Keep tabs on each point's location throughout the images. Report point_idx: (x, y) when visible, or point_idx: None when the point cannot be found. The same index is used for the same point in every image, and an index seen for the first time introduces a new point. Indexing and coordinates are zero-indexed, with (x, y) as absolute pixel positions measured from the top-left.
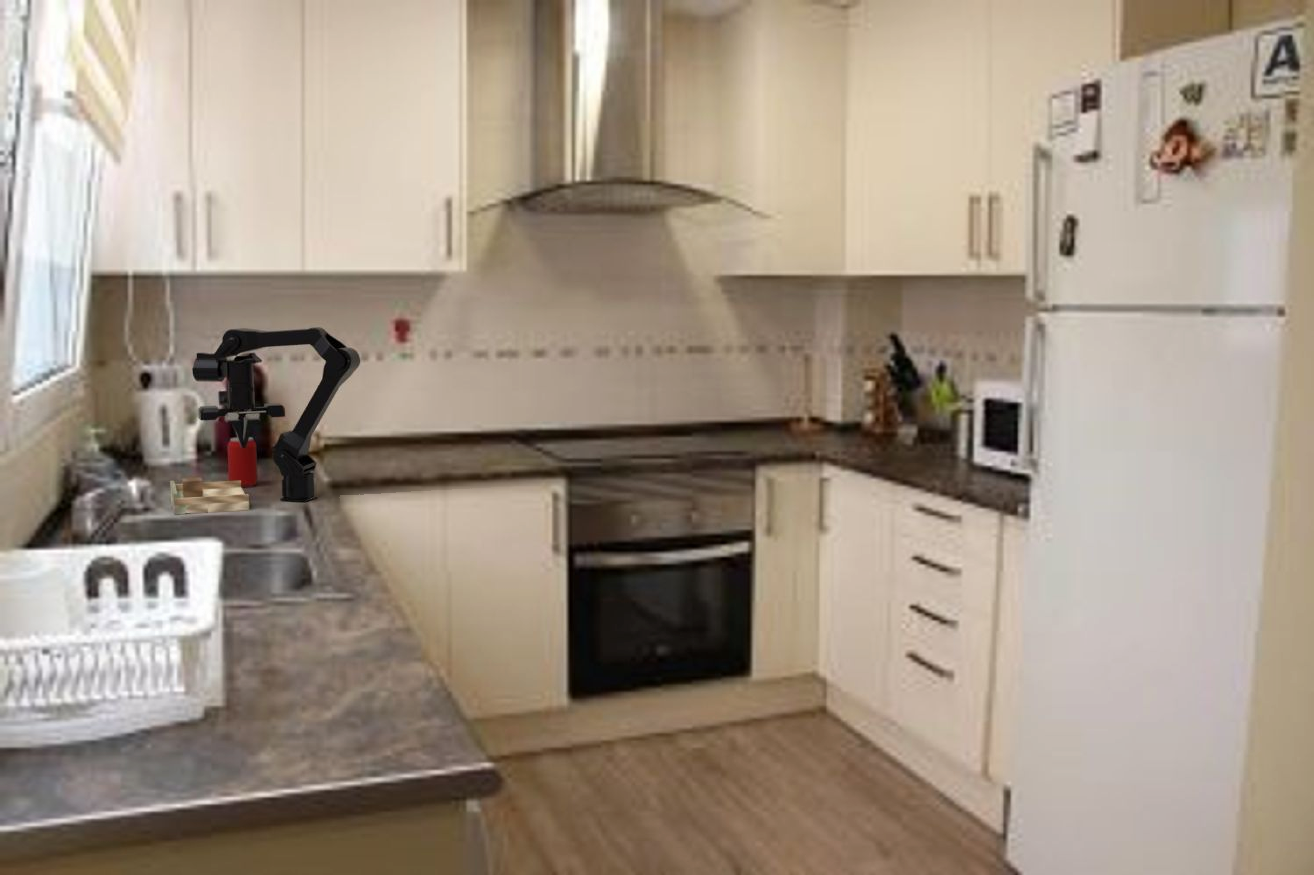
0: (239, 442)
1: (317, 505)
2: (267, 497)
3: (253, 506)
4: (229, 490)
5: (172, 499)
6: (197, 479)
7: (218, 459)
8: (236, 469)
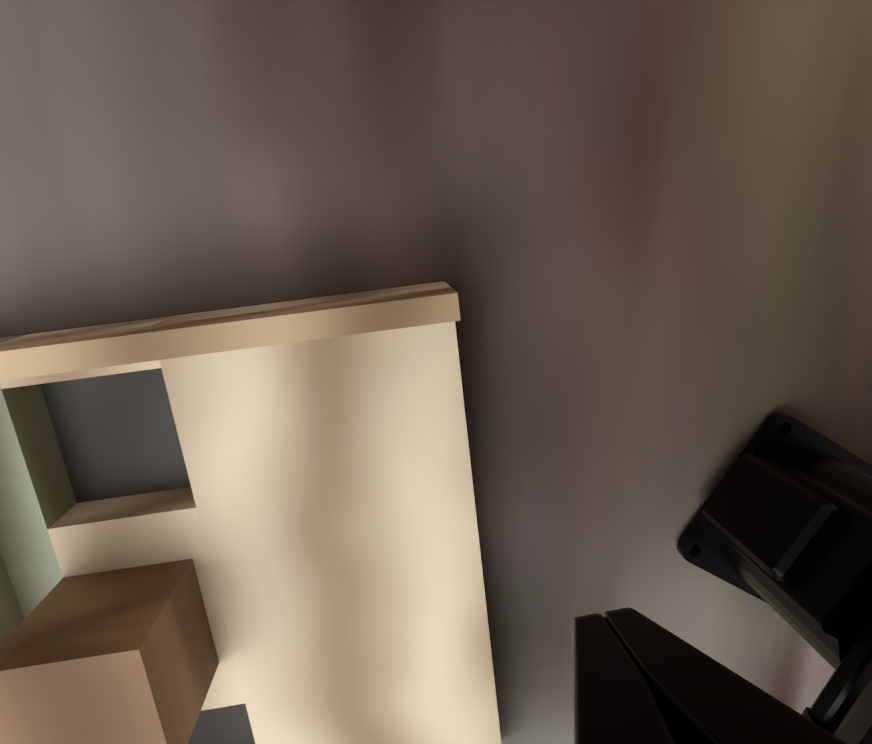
0: (574, 689)
1: None
2: (612, 413)
3: (519, 661)
4: (374, 437)
5: None
6: (124, 729)
7: None
8: None
